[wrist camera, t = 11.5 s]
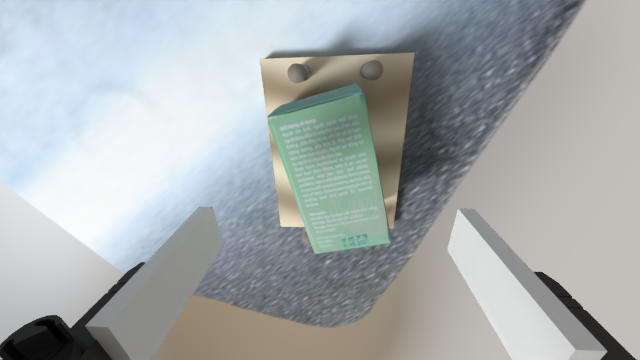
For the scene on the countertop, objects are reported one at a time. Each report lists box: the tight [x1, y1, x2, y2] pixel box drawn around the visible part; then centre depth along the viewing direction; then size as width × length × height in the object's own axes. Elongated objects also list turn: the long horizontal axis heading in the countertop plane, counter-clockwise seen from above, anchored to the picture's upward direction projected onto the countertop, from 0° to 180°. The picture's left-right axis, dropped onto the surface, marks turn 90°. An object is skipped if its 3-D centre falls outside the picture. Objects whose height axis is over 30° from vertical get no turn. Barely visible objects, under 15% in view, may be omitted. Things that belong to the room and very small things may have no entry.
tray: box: [260, 53, 415, 245], centre depth 24 cm, size 19×14×5 cm
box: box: [267, 83, 391, 254], centre depth 22 cm, size 7×14×8 cm, turn 16°
